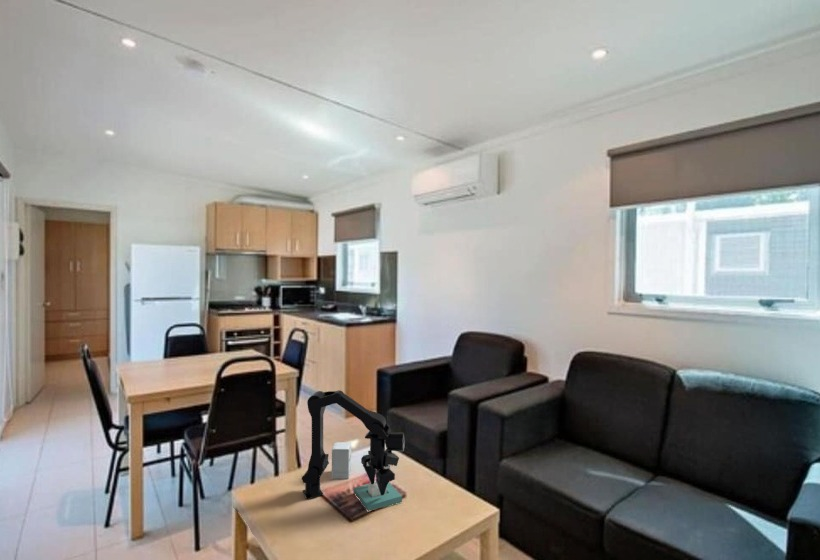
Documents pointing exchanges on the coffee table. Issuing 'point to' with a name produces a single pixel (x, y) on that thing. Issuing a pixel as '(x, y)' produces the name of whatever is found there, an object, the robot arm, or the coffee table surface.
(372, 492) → the plug
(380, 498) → the socket board
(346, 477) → the supplement box
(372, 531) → the coffee table surface
